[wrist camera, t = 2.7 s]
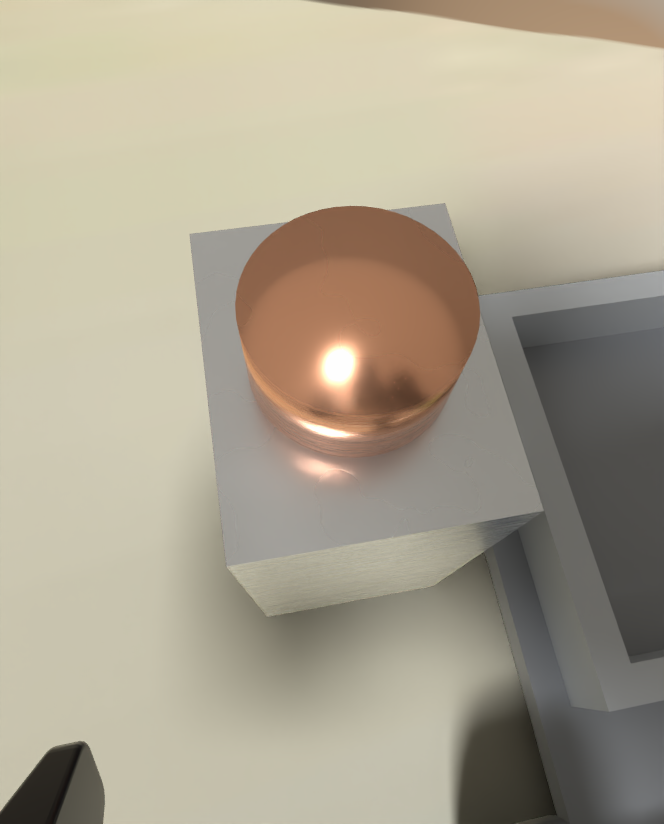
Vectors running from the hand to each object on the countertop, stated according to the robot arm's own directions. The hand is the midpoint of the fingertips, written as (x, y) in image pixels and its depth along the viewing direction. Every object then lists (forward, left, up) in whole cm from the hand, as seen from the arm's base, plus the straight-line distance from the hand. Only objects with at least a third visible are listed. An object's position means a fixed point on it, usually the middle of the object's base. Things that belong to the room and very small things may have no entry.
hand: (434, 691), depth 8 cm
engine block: (+3, -5, -12) cm, 13 cm away
